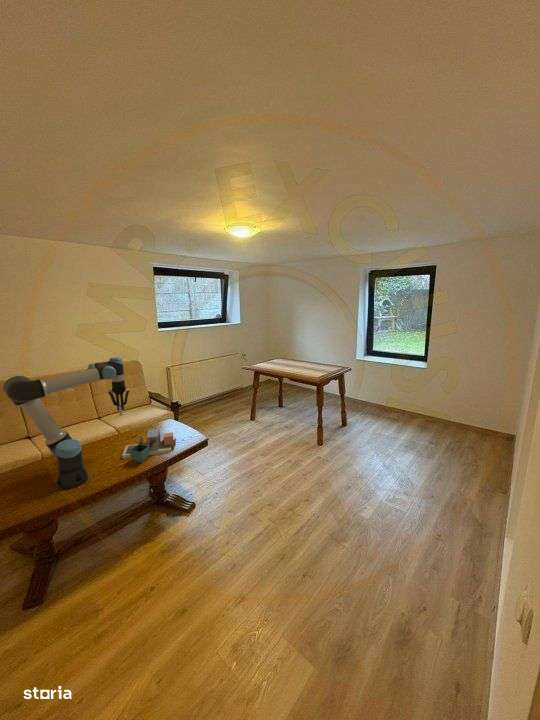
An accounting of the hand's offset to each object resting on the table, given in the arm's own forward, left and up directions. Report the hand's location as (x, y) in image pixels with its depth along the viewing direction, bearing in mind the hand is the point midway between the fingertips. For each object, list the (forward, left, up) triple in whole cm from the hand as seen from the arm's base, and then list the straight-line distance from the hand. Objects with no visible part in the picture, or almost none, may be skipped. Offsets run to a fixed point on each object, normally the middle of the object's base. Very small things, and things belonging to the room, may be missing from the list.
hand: (121, 414), depth 195 cm
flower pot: (+12, -15, -27) cm, 33 cm away
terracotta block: (+29, -3, -23) cm, 37 cm away
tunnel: (+19, -3, -24) cm, 31 cm away
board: (+15, -3, -27) cm, 31 cm away
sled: (+22, -3, -24) cm, 33 cm away
